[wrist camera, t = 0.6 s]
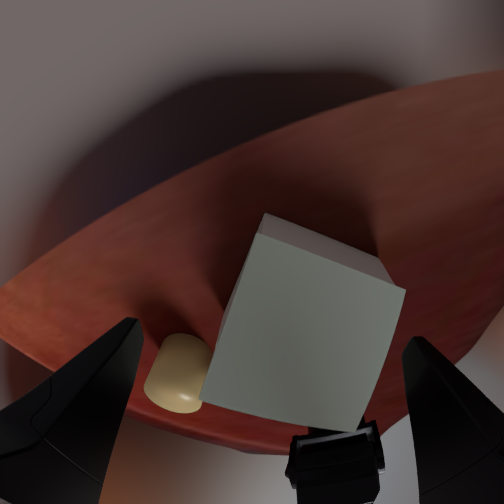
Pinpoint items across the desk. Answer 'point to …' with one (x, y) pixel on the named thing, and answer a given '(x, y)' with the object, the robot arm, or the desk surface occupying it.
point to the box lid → (302, 339)
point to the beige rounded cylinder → (179, 373)
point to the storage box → (316, 250)
